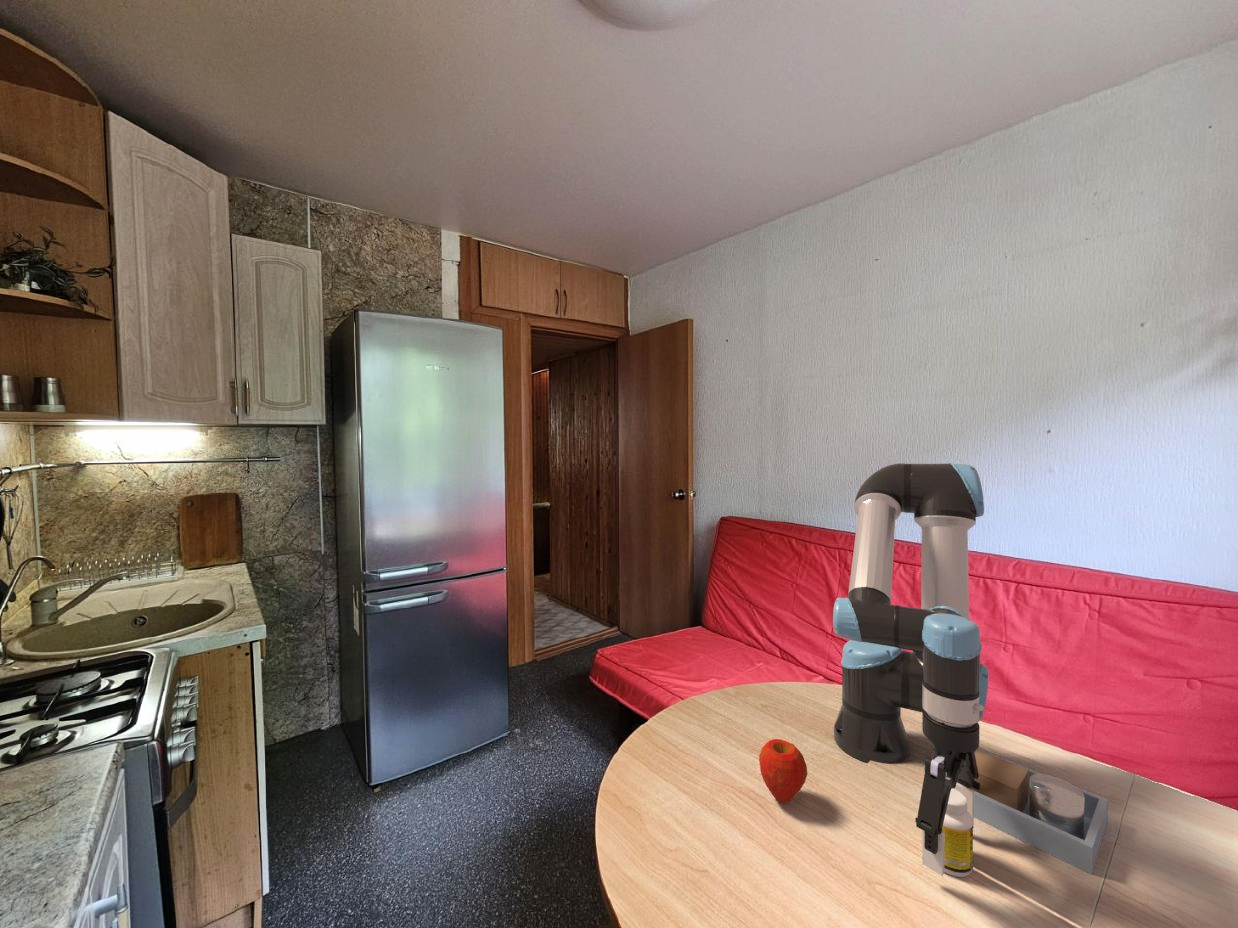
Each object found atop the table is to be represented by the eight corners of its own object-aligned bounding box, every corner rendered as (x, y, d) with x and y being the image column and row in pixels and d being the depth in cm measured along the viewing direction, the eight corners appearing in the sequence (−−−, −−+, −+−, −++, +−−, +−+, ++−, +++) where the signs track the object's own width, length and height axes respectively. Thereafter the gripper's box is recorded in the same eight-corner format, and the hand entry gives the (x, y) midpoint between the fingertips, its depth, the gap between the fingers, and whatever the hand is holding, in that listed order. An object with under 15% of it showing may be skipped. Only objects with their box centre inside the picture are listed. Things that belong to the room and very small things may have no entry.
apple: (813, 797, 93) (813, 742, 93) (795, 823, 87) (795, 764, 87) (771, 777, 99) (771, 725, 99) (751, 800, 93) (750, 744, 92)
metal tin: (1024, 825, 85) (1025, 785, 85) (1034, 805, 89) (1035, 768, 89) (1079, 850, 79) (1080, 808, 79) (1087, 828, 84) (1088, 789, 83)
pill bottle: (980, 882, 75) (981, 811, 74) (935, 875, 76) (936, 806, 76) (961, 849, 81) (961, 784, 81) (919, 843, 82) (920, 779, 82)
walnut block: (962, 797, 91) (963, 766, 91) (976, 779, 96) (976, 749, 96) (1016, 822, 85) (1017, 789, 85) (1028, 801, 90) (1028, 769, 90)
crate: (942, 806, 91) (943, 779, 90) (971, 769, 101) (971, 745, 100) (1091, 879, 75) (1092, 847, 75) (1107, 827, 85) (1108, 799, 85)
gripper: (949, 759, 67) (948, 908, 68) (1002, 698, 83) (1000, 820, 83) (891, 734, 73) (890, 872, 74) (950, 682, 88) (949, 796, 89)
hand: (949, 845), depth 78 cm, fingers open, 13 cm apart
